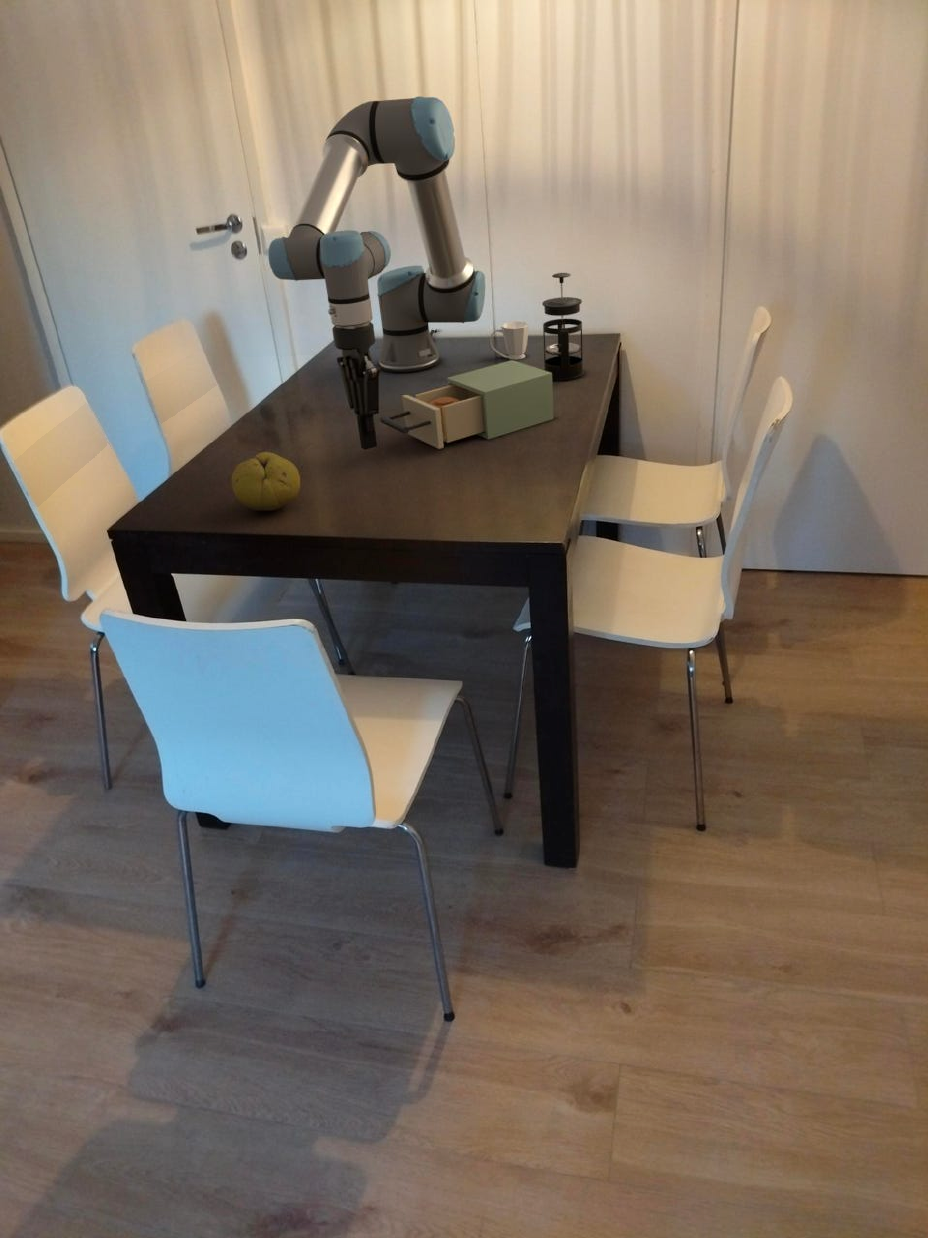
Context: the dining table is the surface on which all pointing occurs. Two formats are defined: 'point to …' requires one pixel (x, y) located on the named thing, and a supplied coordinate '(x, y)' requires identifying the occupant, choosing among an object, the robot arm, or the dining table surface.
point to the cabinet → (510, 396)
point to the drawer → (427, 418)
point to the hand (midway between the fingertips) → (369, 446)
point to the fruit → (265, 482)
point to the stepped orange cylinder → (442, 402)
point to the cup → (513, 339)
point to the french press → (563, 336)
